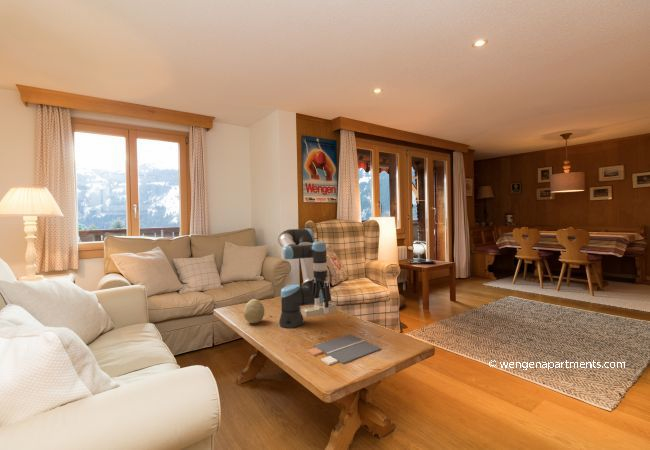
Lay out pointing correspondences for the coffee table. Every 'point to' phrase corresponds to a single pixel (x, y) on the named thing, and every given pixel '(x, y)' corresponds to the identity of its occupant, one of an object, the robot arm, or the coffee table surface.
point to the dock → (343, 349)
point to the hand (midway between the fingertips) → (321, 311)
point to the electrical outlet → (318, 310)
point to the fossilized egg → (254, 311)
